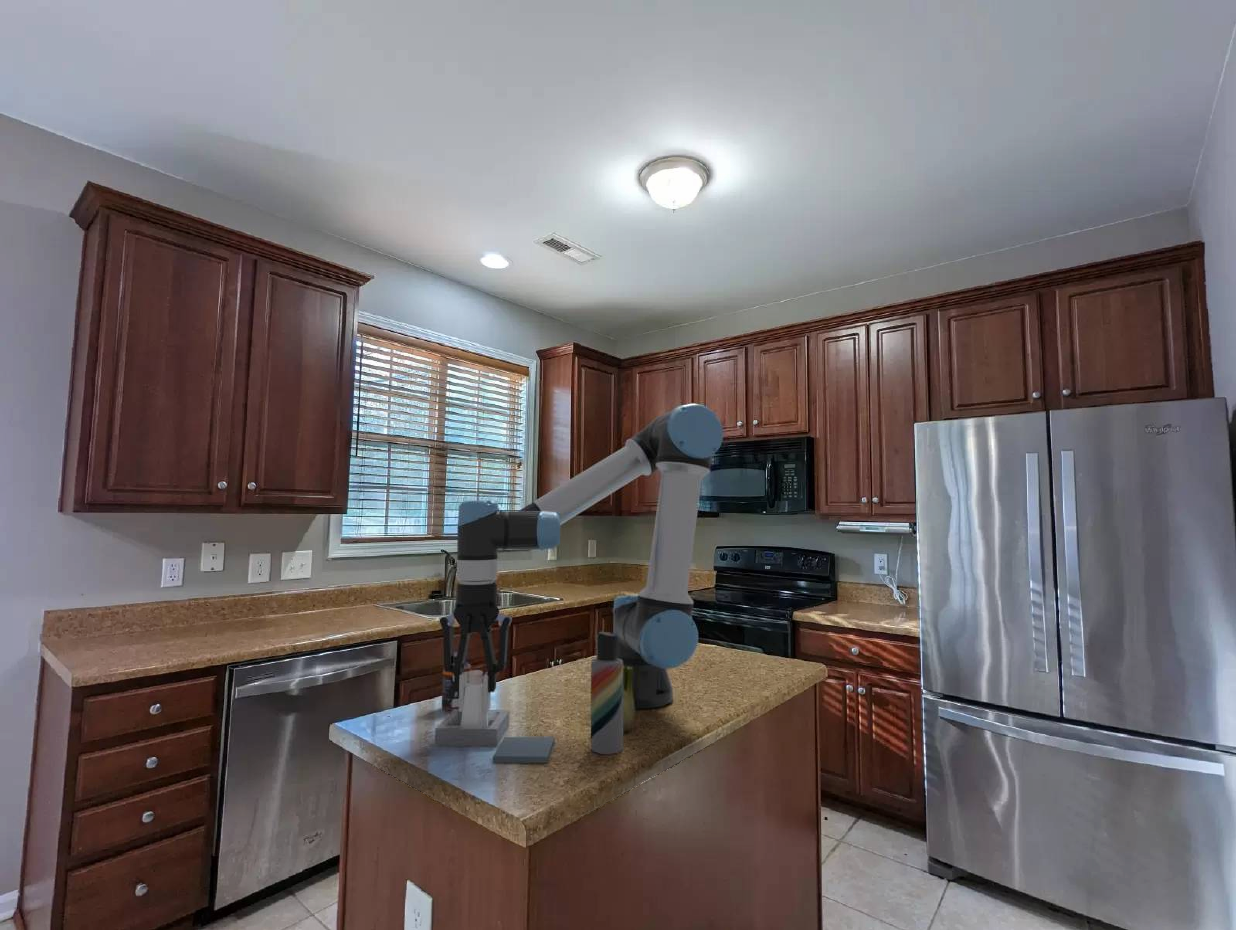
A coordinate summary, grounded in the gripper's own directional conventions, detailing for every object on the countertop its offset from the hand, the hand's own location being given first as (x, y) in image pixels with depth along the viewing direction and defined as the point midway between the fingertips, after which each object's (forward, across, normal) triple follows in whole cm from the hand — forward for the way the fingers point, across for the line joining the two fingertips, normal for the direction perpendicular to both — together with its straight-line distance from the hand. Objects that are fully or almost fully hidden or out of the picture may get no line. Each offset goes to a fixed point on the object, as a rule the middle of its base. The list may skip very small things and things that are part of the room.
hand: (474, 709), depth 112 cm
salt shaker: (+4, 0, 0) cm, 4 cm away
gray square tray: (+5, 0, 0) cm, 5 cm away
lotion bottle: (+5, -25, +6) cm, 26 cm away
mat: (+5, -11, +8) cm, 14 cm away
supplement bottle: (+5, +8, -16) cm, 19 cm away
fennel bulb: (+5, -27, -3) cm, 28 cm away
